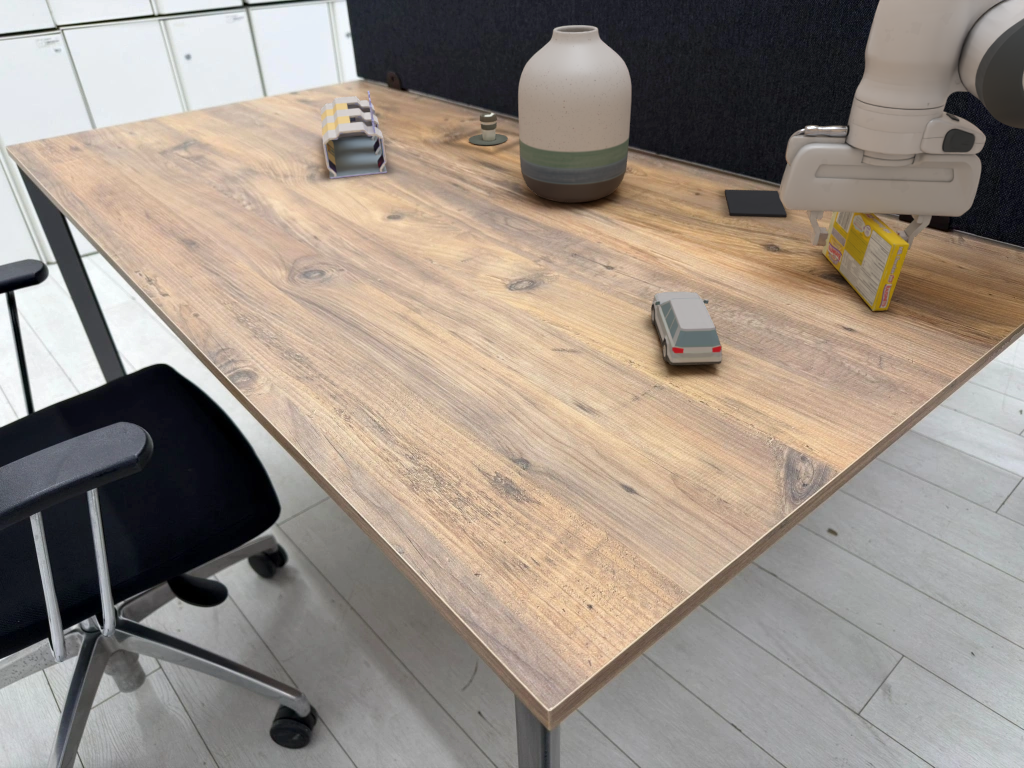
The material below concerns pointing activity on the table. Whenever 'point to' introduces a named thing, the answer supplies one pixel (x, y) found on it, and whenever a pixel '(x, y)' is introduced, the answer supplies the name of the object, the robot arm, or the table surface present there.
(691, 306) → the toy car
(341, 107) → the diorama
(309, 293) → the table surface
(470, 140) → the striped post on disc
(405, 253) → the table surface
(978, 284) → the table surface
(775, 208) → the mat
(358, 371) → the table surface
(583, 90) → the vase
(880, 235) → the candy box
